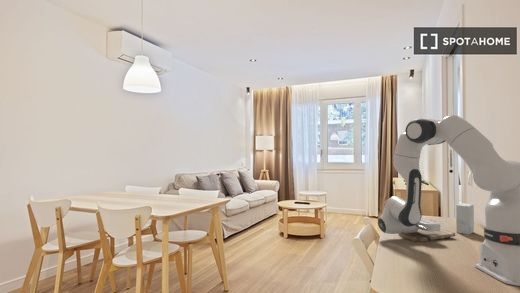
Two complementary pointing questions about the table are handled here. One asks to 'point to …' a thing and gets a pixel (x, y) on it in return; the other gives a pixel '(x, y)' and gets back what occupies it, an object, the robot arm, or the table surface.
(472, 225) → the skincare box
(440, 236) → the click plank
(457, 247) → the table surface
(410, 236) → the laid plank
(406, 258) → the table surface
